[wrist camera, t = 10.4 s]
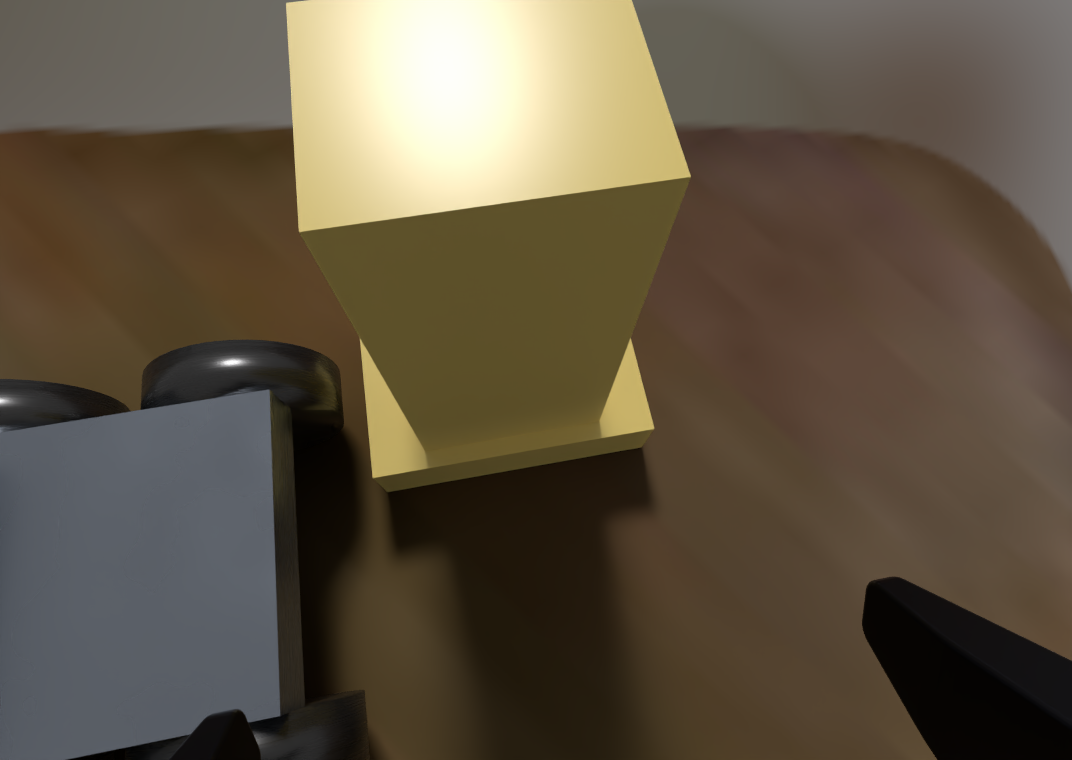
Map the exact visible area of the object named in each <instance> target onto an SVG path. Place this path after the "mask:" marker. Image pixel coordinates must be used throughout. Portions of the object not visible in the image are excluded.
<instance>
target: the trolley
mask: <svg viewBox="0 0 1072 760" xmlns="http://www.w3.org/2000/svg"><path fill="white" fill-rule="evenodd" d="M343 424H344V417H343V404H342V391H341V378H340V371H339V368H338V366H337V365H336V364H335V363H334V362H333V361H332V360H331V359H329V358H328V357H326V356H324V355H323V354H321V353H319V352H316V351H314V350H311V349H308V348H305V347H301V346H297V345H293V344H288V343H281V342H274V341H264V340H226V341H214V342H206V343H200V344H195V345H190V346H186V347H183V348H179V349H176V350H173V351H170V352H168V353H166V354H163V355H161V356H159V357H158V358H156V359H154V360H153V361H152V362H150V363H149V364H148V365H147V366H146V368H145V369H144V371H143V375H142V392H141V410H138V411H132V412H131V411H130V410H129V408H128V407H127V406H125V405H124V404H123V403H121V402H120V401H118V400H116V399H114V398H112V397H110V396H107V395H104V394H102V393H99V392H95V391H92V390H88V389H84V388H80V387H75V386H70V385H64V384H58V383H51V382H42V381H31V380H15V379H0V760H115V750H116V749H121V748H125V760H169V758H170V757H171V756H172V755H173V754H174V753H175V752H176V750H177V749H178V748H179V747H180V746H181V745H182V744H183V742H184V741H185V740H186V739H187V738H188V737H189V735H190V734H191V733H192V732H193V731H194V730H195V729H196V727H197V726H198V725H199V724H200V723H201V722H202V721H203V720H204V719H205V718H206V717H207V716H209V715H211V714H213V713H218V712H223V711H228V710H233V709H239V710H241V711H242V712H243V713H244V714H245V716H246V718H247V721H248V723H249V725H250V727H251V730H252V732H253V734H254V737H255V739H256V741H257V743H258V746H259V749H260V753H261V760H370V754H369V741H368V728H367V715H366V702H365V690H355V691H347V692H341V693H335V694H329V695H323V696H318V697H312V698H307V699H305V694H304V673H303V651H302V629H301V607H300V586H299V564H298V542H297V520H296V499H295V477H294V455H293V451H296V450H300V449H304V448H307V447H311V446H314V445H316V444H319V443H322V442H324V441H326V440H328V439H330V438H332V437H333V436H335V435H336V434H337V433H338V432H339V431H340V430H341V429H342V427H343Z"/></svg>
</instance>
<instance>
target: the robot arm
mask: <svg viewBox="0 0 1072 760" xmlns="http://www.w3.org/2000/svg"><path fill="white" fill-rule="evenodd" d="M862 626H863V631H864V634H865V637H866V639H867V641H868V643H869V645H870V646H871V648H872V650H873V652H874V653H875V655H876V657H877V659H878V661H879V662H880V664H881V666H882V668H883V669H884V671H885V673H886V675H887V676H888V678H889V680H890V682H891V683H892V685H893V687H894V689H895V690H896V692H897V694H898V696H899V697H900V699H901V701H902V703H903V704H904V706H905V708H906V710H907V711H908V713H909V715H910V717H911V718H912V720H913V722H914V724H915V725H916V727H917V729H918V730H919V732H920V734H921V735H922V737H923V739H924V740H925V742H926V743H927V745H928V746H929V748H930V749H931V751H932V752H933V754H934V755H935V757H936V758H937V760H1072V661H1071V660H1069V659H1067V658H1065V657H1063V656H1061V655H1059V654H1057V653H1054V652H1052V651H1050V650H1048V649H1046V648H1044V647H1042V646H1040V645H1038V644H1036V643H1034V642H1032V641H1030V640H1028V639H1026V638H1024V637H1022V636H1020V635H1018V634H1015V633H1013V632H1011V631H1009V630H1007V629H1005V628H1003V627H1001V626H999V625H997V624H995V623H993V622H991V621H989V620H987V619H985V618H983V617H981V616H978V615H976V614H974V613H972V612H970V611H968V610H966V609H964V608H962V607H960V606H958V605H956V604H954V603H952V602H950V601H948V600H946V599H944V598H941V597H939V596H937V595H935V594H933V593H931V592H929V591H927V590H925V589H923V588H921V587H919V586H917V585H915V584H913V583H911V582H909V581H907V580H904V579H902V578H900V577H887V578H882V579H877V580H873V581H871V582H869V584H868V585H867V588H866V594H865V602H864V610H863V618H862ZM169 760H261V753H260V749H259V746H258V743H257V741H256V739H255V737H254V734H253V732H252V730H251V727H250V725H249V723H248V721H247V718H246V716H245V714H244V713H243V712H242V711H241V710H239V709H233V710H228V711H223V712H218V713H213V714H211V715H209V716H207V717H206V718H205V719H204V720H203V721H202V722H201V723H200V724H199V725H198V726H197V727H196V729H195V730H194V731H193V732H192V733H191V734H190V735H189V737H188V738H187V739H186V740H185V741H184V742H183V744H182V745H181V746H180V747H179V748H178V749H177V750H176V752H175V753H174V754H173V755H172V756H171V757H170V758H169Z"/></svg>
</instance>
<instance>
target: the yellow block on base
mask: <svg viewBox="0 0 1072 760" xmlns="http://www.w3.org/2000/svg"><path fill="white" fill-rule="evenodd" d="M286 9H287V27H288V45H289V63H290V81H291V99H292V116H293V134H294V152H295V170H296V188H297V205H298V223H299V233H300V235H301V236H302V238H303V240H304V242H305V243H306V245H307V247H308V249H309V250H310V252H311V254H312V256H313V257H314V259H315V261H316V262H317V264H318V266H319V268H320V269H321V271H322V273H323V275H324V276H325V278H326V280H327V282H328V283H329V285H330V287H331V289H332V290H333V292H334V294H335V296H336V297H337V299H338V301H339V302H340V304H341V306H342V308H343V309H344V311H345V313H346V315H347V316H348V318H349V320H350V322H351V323H352V325H353V327H354V329H355V330H356V332H357V334H358V336H359V337H360V344H361V355H362V366H363V377H364V388H365V398H366V409H367V420H368V431H369V442H370V453H371V464H372V475H373V479H374V480H375V481H376V482H377V483H378V484H379V485H380V486H382V487H383V488H384V489H385V490H386V491H387V492H392V491H398V490H403V489H409V488H415V487H420V486H426V485H432V484H437V483H443V482H449V481H454V480H460V479H465V478H471V477H477V476H482V475H488V474H494V473H499V472H505V471H511V470H516V469H522V468H528V467H533V466H539V465H545V464H550V463H556V462H562V461H567V460H573V459H579V458H584V457H590V456H596V455H601V454H607V453H613V452H618V451H624V450H629V449H635V448H641V447H643V445H644V444H645V442H646V441H647V439H648V438H649V436H650V435H651V433H652V432H653V430H654V425H653V422H652V418H651V414H650V410H649V406H648V403H647V399H646V395H645V391H644V387H643V384H642V380H641V376H640V372H639V368H638V365H637V361H636V357H635V353H634V349H633V346H632V342H631V335H632V333H633V330H634V327H635V325H636V322H637V319H638V317H639V314H640V311H641V309H642V306H643V303H644V301H645V298H646V295H647V293H648V290H649V287H650V285H651V282H652V279H653V277H654V274H655V271H656V269H657V266H658V263H659V261H660V258H661V255H662V253H663V250H664V247H665V245H666V242H667V239H668V237H669V234H670V231H671V229H672V226H673V223H674V221H675V218H676V215H677V213H678V210H679V207H680V205H681V202H682V199H683V197H684V194H685V191H686V189H687V186H688V183H689V181H690V178H691V176H690V173H689V170H688V167H687V164H686V161H685V158H684V155H683V152H682V149H681V146H680V143H679V140H678V137H677V134H676V131H675V128H674V125H673V122H672V119H671V116H670V113H669V110H668V107H667V104H666V101H665V98H664V95H663V92H662V89H661V87H660V83H659V81H658V78H657V74H656V72H655V68H654V65H653V63H652V60H651V56H650V54H649V51H648V48H647V45H646V42H645V39H644V36H643V33H642V30H641V27H640V24H639V21H638V18H637V15H636V12H635V9H634V6H633V3H632V0H308V1H299V2H290V3H286Z"/></svg>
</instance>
